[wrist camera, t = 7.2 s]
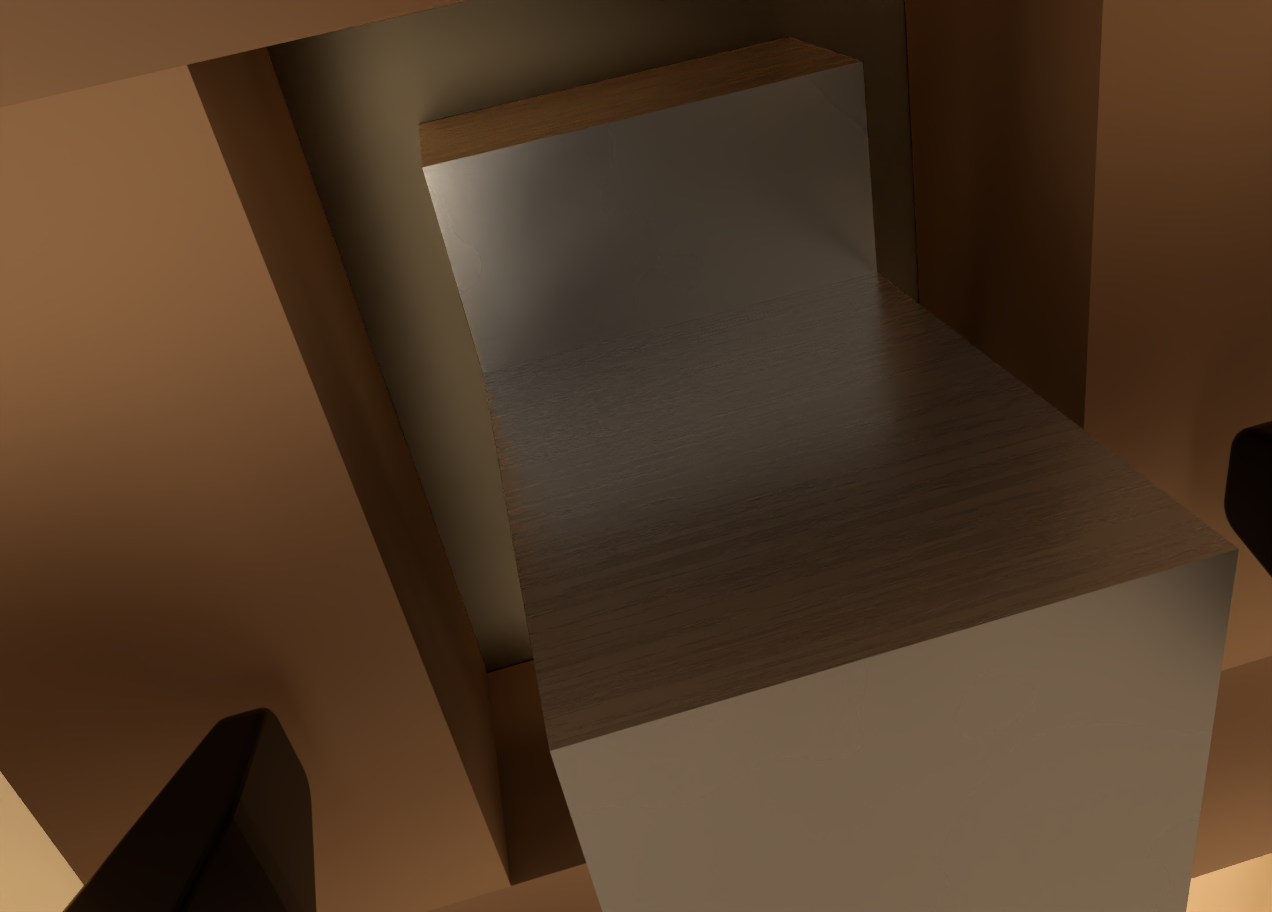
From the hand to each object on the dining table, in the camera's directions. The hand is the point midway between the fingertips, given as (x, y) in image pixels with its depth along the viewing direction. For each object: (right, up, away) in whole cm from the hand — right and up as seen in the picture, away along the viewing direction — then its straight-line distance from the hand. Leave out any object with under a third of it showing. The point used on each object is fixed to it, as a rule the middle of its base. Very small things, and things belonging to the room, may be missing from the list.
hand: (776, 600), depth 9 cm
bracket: (-1, +2, +3) cm, 4 cm away
